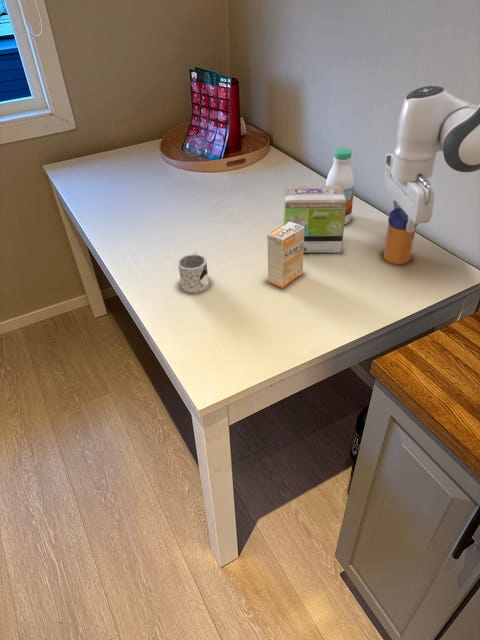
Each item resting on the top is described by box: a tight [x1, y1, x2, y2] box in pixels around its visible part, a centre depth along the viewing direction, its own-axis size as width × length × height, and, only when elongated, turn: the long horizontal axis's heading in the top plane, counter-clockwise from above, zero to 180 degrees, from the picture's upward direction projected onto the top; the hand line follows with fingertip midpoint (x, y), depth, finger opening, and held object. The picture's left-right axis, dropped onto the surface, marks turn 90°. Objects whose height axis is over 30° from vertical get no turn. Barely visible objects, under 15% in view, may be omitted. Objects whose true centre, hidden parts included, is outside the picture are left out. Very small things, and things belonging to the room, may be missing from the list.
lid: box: [387, 208, 419, 229], centre depth 116 cm, size 7×7×2 cm
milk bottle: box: [325, 147, 355, 225], centre depth 134 cm, size 8×8×20 cm
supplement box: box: [266, 222, 305, 289], centre depth 114 cm, size 8×5×13 cm, turn 137°
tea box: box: [282, 185, 346, 254], centre depth 125 cm, size 15×10×15 cm
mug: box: [177, 252, 210, 294], centre depth 117 cm, size 10×7×7 cm
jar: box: [383, 223, 417, 265], centre depth 119 cm, size 6×6×11 cm
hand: (402, 222), depth 116 cm, fingers closed on lid, 7 cm apart
